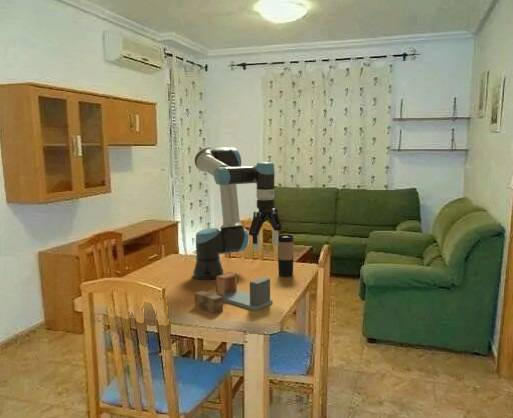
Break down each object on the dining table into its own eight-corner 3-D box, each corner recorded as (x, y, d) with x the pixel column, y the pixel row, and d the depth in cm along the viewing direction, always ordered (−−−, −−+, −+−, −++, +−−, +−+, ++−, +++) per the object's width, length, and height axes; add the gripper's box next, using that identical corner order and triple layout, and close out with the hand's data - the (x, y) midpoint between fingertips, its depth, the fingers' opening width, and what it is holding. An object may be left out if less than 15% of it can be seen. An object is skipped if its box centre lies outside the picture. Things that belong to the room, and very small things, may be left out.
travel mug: (277, 273, 229) (277, 234, 226) (292, 272, 229) (292, 234, 226) (279, 277, 221) (279, 237, 218) (294, 276, 222) (294, 237, 219)
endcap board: (211, 297, 194) (210, 273, 192) (229, 290, 202) (228, 267, 200) (255, 310, 178) (254, 284, 176) (272, 303, 186) (272, 278, 184)
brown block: (195, 307, 183) (194, 293, 182) (202, 304, 186) (202, 290, 185) (215, 314, 175) (215, 299, 174) (222, 311, 178) (222, 296, 177)
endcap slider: (216, 293, 193) (215, 276, 192) (230, 288, 200) (229, 272, 199) (223, 295, 191) (222, 278, 190) (237, 290, 197) (236, 273, 196)
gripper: (254, 202, 177) (254, 255, 180) (289, 196, 196) (289, 243, 200) (239, 201, 182) (240, 252, 185) (275, 195, 201) (275, 241, 204)
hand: (266, 248), depth 192 cm, fingers open, 13 cm apart
